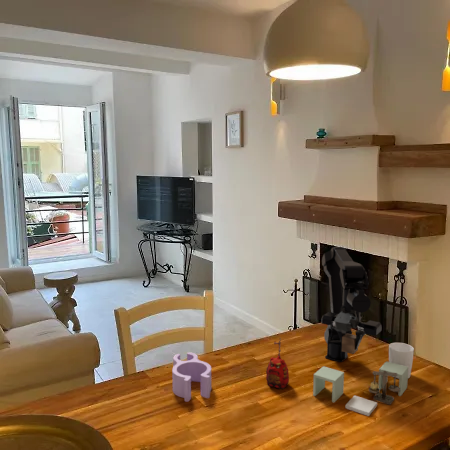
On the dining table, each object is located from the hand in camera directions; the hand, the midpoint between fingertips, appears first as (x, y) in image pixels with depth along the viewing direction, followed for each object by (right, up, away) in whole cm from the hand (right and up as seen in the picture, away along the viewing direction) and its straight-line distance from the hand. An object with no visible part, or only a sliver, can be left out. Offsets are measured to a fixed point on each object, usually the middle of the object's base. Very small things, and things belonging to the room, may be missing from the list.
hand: (349, 347), depth 151 cm
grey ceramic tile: (-1, -13, -16) cm, 21 cm away
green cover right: (+12, -12, -5) cm, 18 cm away
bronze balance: (+7, -13, -12) cm, 19 cm away
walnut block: (0, -1, 0) cm, 1 cm away
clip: (-53, -12, -2) cm, 55 cm away
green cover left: (-9, -12, -9) cm, 18 cm away
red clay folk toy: (-24, -12, -2) cm, 27 cm away
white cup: (+18, -11, +4) cm, 21 cm away
